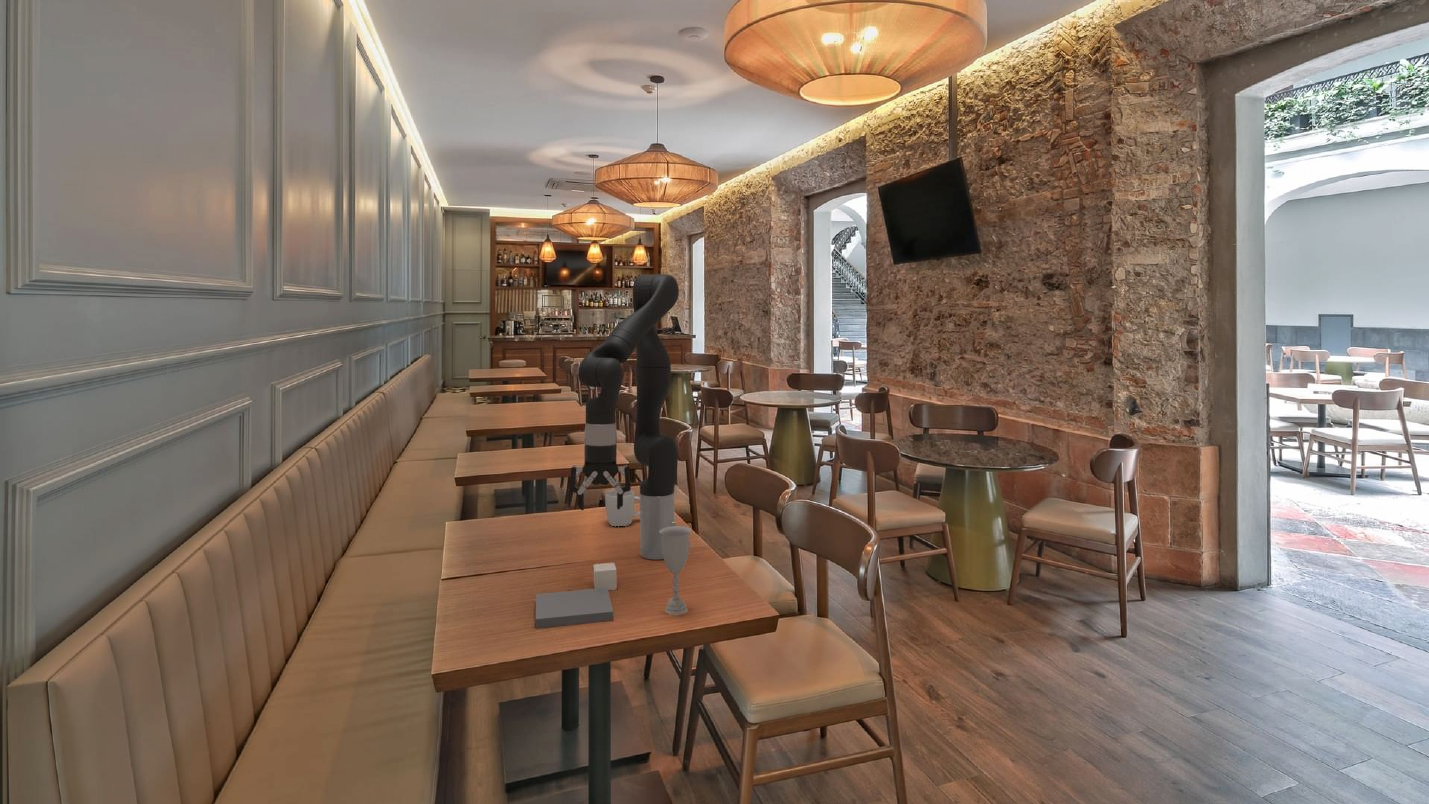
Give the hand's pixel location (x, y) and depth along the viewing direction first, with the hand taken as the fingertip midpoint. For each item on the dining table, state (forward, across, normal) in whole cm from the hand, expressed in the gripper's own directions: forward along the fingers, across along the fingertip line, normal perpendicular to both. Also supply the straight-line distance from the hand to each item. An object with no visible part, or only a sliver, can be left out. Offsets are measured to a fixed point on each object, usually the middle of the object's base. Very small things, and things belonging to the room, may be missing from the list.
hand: (600, 509), depth 171 cm
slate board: (+19, +6, +15) cm, 25 cm away
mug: (+18, -7, -52) cm, 55 cm away
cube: (+19, -1, +1) cm, 19 cm away
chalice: (+19, -17, +18) cm, 31 cm away
